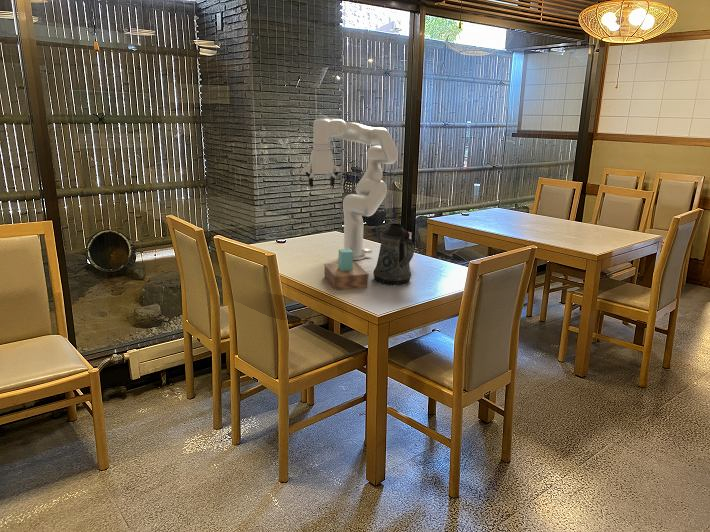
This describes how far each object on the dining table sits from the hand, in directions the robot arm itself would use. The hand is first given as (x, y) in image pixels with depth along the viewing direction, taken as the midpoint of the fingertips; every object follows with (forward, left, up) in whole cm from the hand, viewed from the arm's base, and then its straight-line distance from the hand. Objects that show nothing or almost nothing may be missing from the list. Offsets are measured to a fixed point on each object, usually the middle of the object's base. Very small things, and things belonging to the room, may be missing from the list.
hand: (321, 186), depth 242 cm
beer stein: (-26, +29, -38) cm, 54 cm away
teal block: (-4, +27, -31) cm, 42 cm away
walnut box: (-4, +27, -37) cm, 46 cm away
